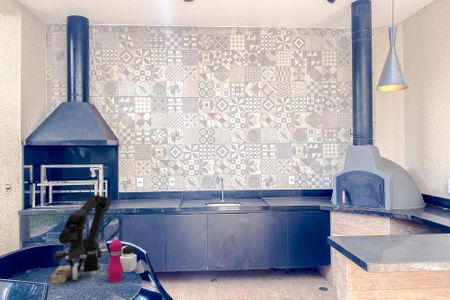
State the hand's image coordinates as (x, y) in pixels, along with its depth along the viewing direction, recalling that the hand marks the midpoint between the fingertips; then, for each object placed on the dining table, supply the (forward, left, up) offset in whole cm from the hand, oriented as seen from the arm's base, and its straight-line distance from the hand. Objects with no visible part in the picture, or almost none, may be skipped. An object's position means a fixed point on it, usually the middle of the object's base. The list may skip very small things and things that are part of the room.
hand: (76, 272), depth 166 cm
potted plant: (-24, -7, -3) cm, 25 cm away
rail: (+7, -3, -2) cm, 8 cm away
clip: (0, 0, -2) cm, 3 cm away
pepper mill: (-19, +8, -3) cm, 20 cm away
